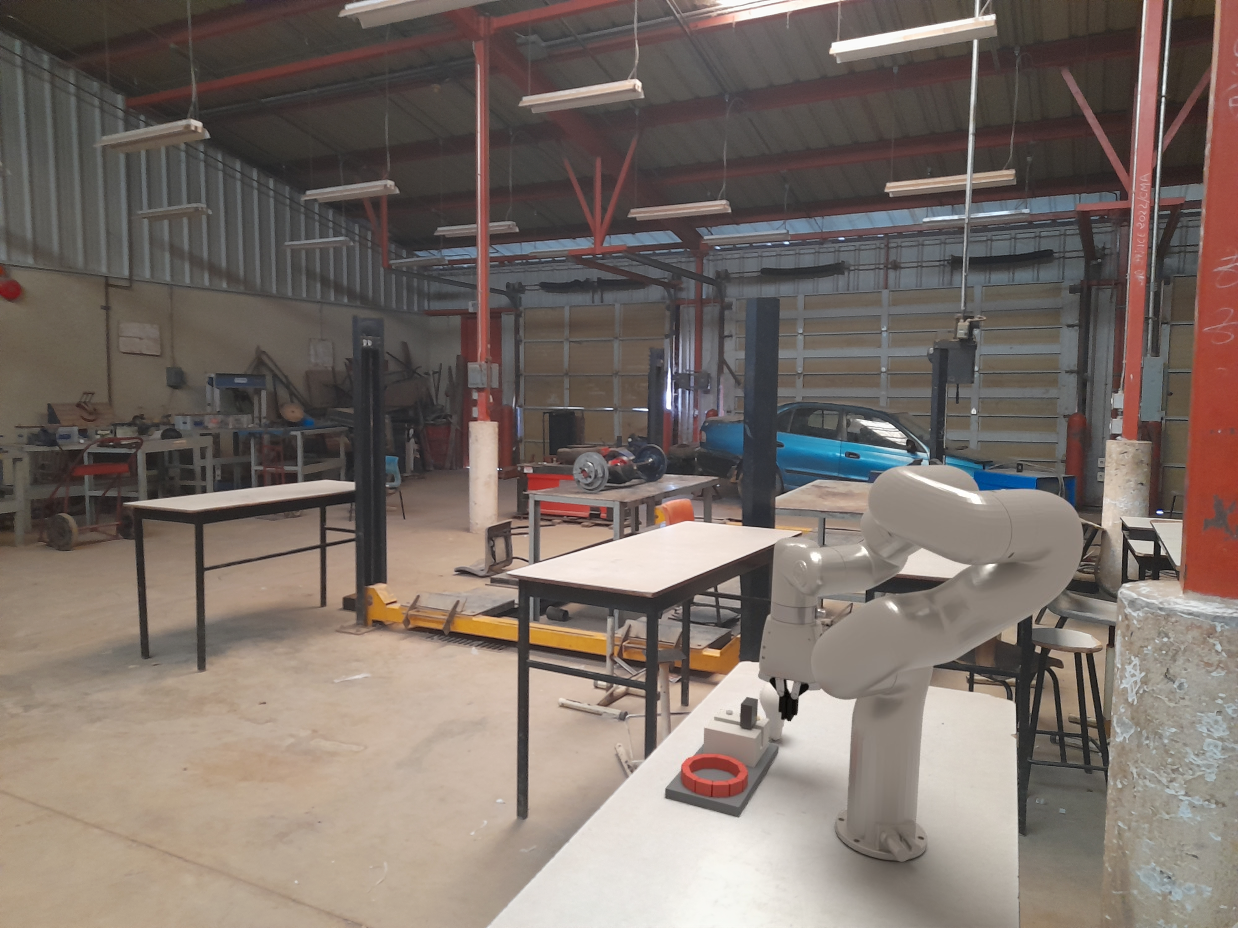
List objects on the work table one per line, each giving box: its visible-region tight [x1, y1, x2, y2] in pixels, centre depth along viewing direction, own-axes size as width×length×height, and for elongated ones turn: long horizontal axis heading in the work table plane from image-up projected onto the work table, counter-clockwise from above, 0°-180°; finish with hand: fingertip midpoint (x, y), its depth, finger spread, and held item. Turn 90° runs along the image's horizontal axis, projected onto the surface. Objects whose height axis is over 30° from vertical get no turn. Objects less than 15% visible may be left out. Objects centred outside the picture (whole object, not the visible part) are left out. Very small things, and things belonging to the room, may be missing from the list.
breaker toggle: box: [739, 696, 759, 729], centre depth 135 cm, size 4×2×7 cm, turn 154°
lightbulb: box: [758, 682, 792, 741], centre depth 144 cm, size 6×6×11 cm
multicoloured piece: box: [664, 709, 780, 817], centre depth 131 cm, size 24×12×7 cm, turn 154°
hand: (787, 717), depth 132 cm, fingers closed
